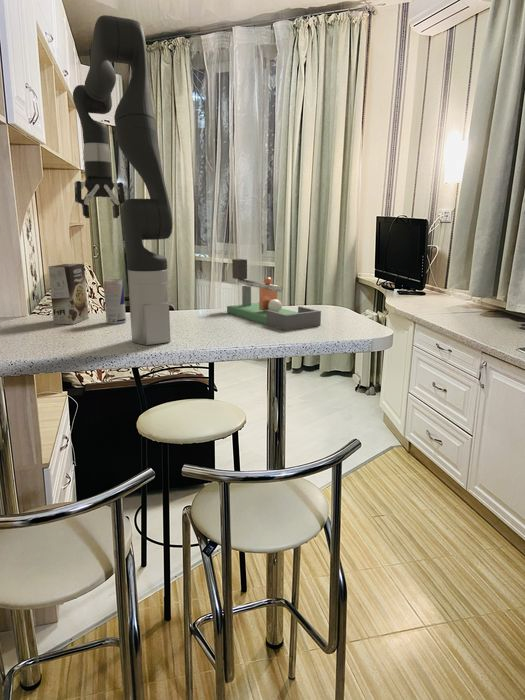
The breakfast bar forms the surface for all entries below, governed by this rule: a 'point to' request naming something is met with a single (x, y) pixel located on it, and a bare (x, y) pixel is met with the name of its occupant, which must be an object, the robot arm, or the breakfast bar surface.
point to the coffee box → (68, 293)
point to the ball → (275, 305)
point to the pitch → (275, 314)
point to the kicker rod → (255, 283)
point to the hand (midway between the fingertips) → (101, 218)
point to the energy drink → (114, 301)
